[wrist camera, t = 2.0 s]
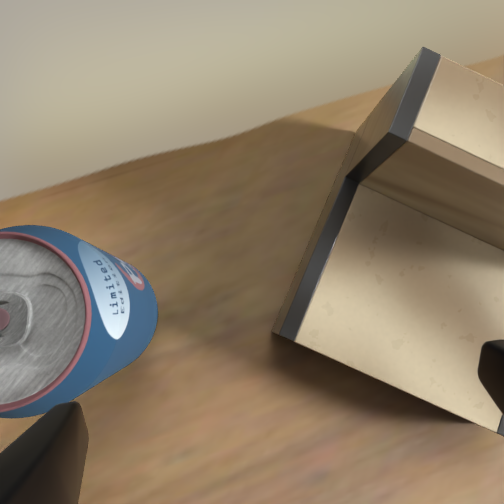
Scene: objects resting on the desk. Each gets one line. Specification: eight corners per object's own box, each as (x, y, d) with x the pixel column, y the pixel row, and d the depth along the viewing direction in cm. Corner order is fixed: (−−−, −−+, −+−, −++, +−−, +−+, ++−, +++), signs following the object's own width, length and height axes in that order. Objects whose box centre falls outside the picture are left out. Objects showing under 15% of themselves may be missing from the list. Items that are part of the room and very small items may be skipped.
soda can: (164, 261, 25) (116, 217, 13) (157, 372, 23) (98, 435, 12) (53, 257, 24) (-105, 207, 12) (41, 370, 23) (-145, 436, 11)
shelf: (477, 424, 25) (621, 488, 16) (271, 331, 25) (301, 344, 16) (540, 217, 28) (694, 174, 19) (355, 131, 27) (422, 46, 18)
